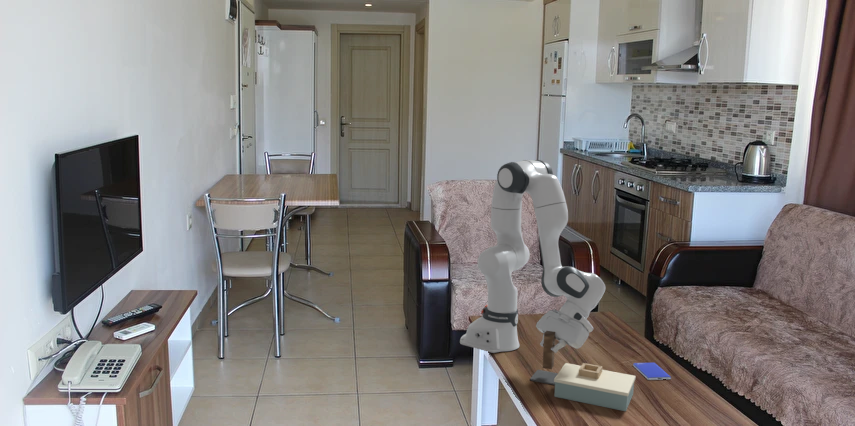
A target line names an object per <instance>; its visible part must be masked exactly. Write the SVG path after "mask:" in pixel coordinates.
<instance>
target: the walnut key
mask: <svg viewBox="0 0 855 426" xmlns="http://www.w3.org/2000/svg"><path fill="white" fill-rule="evenodd" d="M543 334H544V347H543V348H542V349H543V352H542V368H543V369H547V370H552V369H553V368H554V366H555V353H554V352H552V350H551V348H552V346H553V345H556V339H555V332H552V331H546V332H545V333H543Z"/></svg>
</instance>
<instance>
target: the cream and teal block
mask: <svg viewBox="0 0 855 426" xmlns="http://www.w3.org/2000/svg"><path fill="white" fill-rule="evenodd" d="M636 379H637V377H636V375H635V374H634V375H633V374H627V373H622V372H619V371H618V372H615V371H611V370H607V369H603V365H596V364H591V363H587V362H582V364H581V365H578V364H574V363H568V362H565V363H564V364H563V366H562V368H561V369H560V370H559V371H558V374H557V376H556V377H555V378H554V382H555V385H554V397H555V398H559V399H564V400H569V401H574V402H579V403H584V404H589V405H593V406H598V407H602V408H603V407H604V408H608V409H613V410H618V411H621V412H622V411H623V412H627V410H628V407H629V405H630V403H631V400H632V398H633V395H634V391H635V390H634V389H635V381H636Z"/></svg>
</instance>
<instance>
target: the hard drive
mask: <svg viewBox="0 0 855 426" xmlns="http://www.w3.org/2000/svg"><path fill="white" fill-rule="evenodd" d="M632 366H633V367H634V368H635V369H636V371H638V372H639V373H640V374H641V375H642V376H643V377H645V378H646V380H647V381H658V380H659V381H661V380H662V381H663V379H666V380H672V376H671V375H669V374H668V373H667V372H666V371H665V370H664V369H663V368H662V367H660V365H658V364H657V363H656V362H633V364H632Z"/></svg>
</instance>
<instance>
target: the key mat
mask: <svg viewBox="0 0 855 426" xmlns="http://www.w3.org/2000/svg"><path fill="white" fill-rule="evenodd" d="M558 373H559V372H558ZM558 373H557V372H553V371H547V370H542V369H536V371H535V372H534V373H533V374H532V376H531V377H530V378H529V381H532V382H536V383H542V384H546V385H552V386H555V382H554V378H555V377H556V376H557V374H558Z"/></svg>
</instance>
